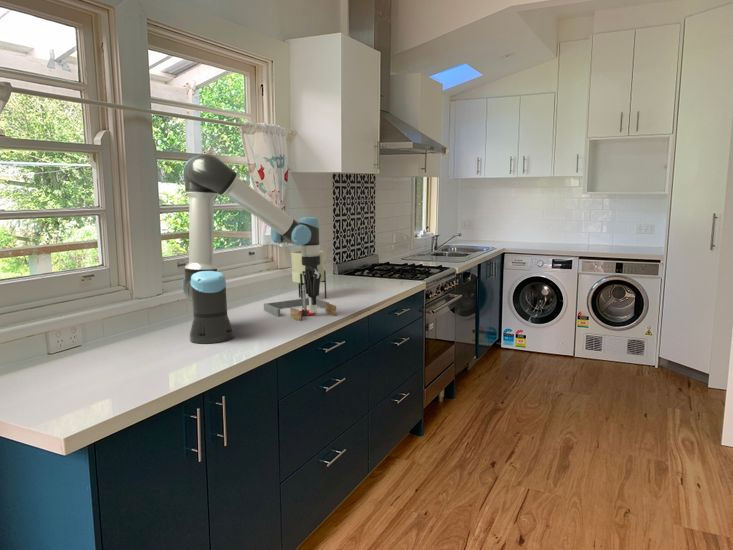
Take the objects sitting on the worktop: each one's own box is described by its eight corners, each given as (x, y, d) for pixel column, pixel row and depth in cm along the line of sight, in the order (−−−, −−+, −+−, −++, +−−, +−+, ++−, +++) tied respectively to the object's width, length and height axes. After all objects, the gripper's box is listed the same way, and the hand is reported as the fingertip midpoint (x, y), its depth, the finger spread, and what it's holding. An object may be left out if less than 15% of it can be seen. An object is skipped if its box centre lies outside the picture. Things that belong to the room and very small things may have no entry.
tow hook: (295, 313, 242) (294, 316, 232) (294, 283, 240) (293, 285, 231) (315, 312, 242) (314, 316, 233) (314, 282, 241) (313, 285, 232)
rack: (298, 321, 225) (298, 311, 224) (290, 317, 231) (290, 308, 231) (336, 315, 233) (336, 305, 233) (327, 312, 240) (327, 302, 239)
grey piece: (278, 316, 234) (277, 309, 233) (264, 310, 247) (263, 303, 247) (329, 309, 246) (329, 302, 246) (313, 303, 260) (313, 297, 259)
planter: (287, 302, 266) (284, 253, 262) (301, 295, 280) (299, 249, 277) (316, 303, 261) (314, 253, 257) (329, 297, 275) (328, 250, 272)
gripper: (326, 255, 226) (328, 313, 229) (312, 253, 237) (314, 308, 240) (309, 257, 222) (311, 316, 225) (295, 254, 233) (298, 310, 236)
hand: (313, 312), depth 233 cm, fingers closed
